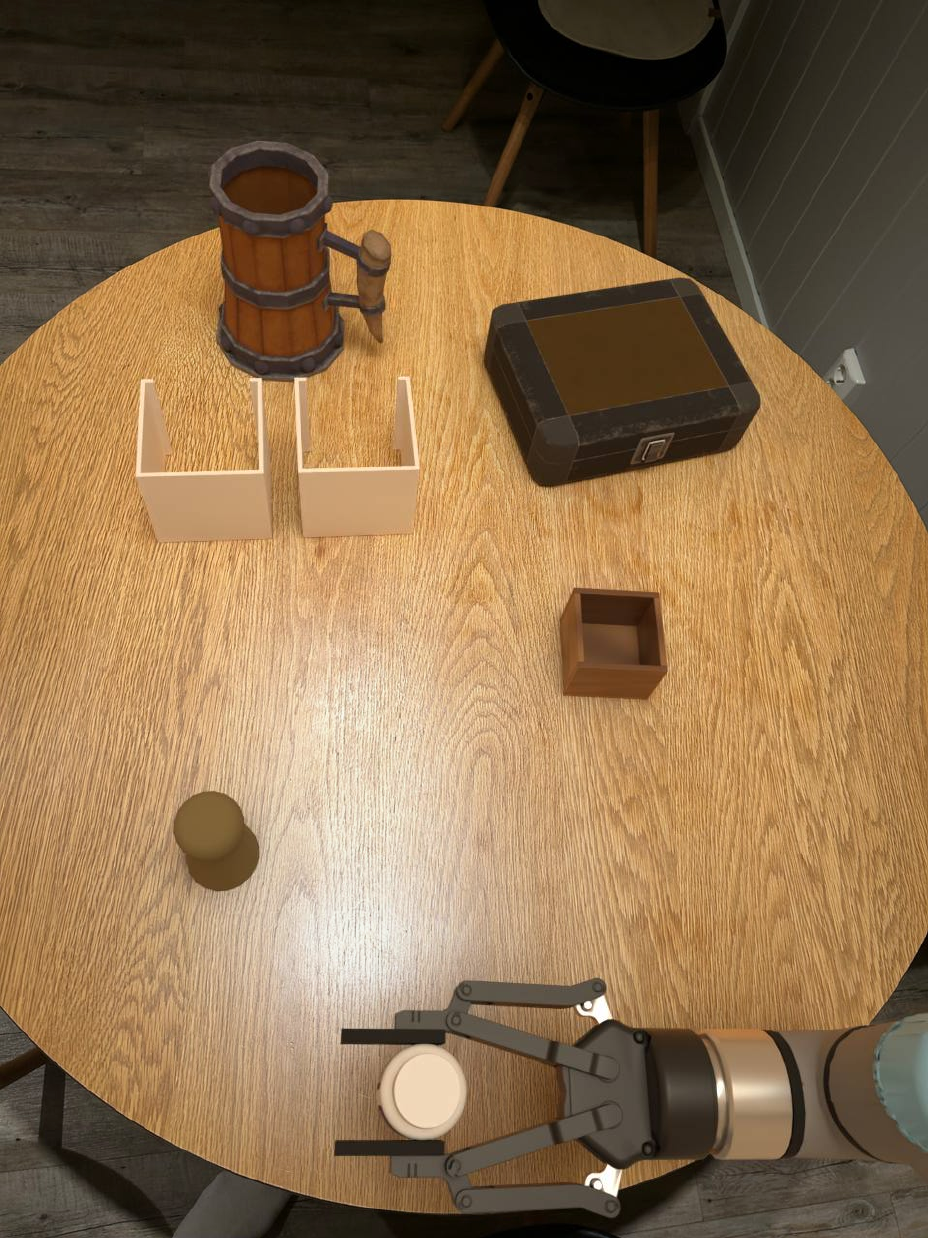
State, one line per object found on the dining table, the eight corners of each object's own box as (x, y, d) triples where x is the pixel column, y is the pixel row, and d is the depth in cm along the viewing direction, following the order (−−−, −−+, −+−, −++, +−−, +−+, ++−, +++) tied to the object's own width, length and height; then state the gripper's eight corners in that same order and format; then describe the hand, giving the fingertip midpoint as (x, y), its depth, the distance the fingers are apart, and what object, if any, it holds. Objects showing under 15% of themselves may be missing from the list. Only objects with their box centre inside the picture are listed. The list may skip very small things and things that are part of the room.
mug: (402, 315, 109) (413, 162, 91) (368, 408, 102) (373, 263, 84) (241, 273, 109) (221, 113, 91) (196, 363, 102) (166, 209, 85)
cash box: (537, 496, 99) (551, 451, 92) (478, 353, 108) (487, 302, 101) (744, 453, 105) (771, 408, 98) (673, 321, 113) (694, 271, 107)
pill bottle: (461, 1130, 63) (480, 1133, 54) (381, 1145, 62) (387, 1151, 53) (448, 1043, 65) (465, 1033, 57) (371, 1056, 64) (376, 1048, 56)
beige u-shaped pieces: (157, 542, 92) (135, 476, 82) (161, 451, 97) (140, 379, 87) (412, 533, 95) (419, 469, 86) (403, 446, 100) (409, 376, 91)
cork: (172, 874, 78) (148, 841, 68) (208, 808, 80) (189, 767, 71) (238, 903, 77) (223, 874, 67) (272, 836, 80) (262, 799, 70)
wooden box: (647, 699, 90) (668, 672, 84) (563, 695, 89) (578, 667, 83) (640, 623, 94) (659, 592, 88) (559, 618, 93) (573, 587, 87)
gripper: (698, 1257, 59) (328, 1262, 57) (669, 950, 68) (346, 943, 65) (743, 1275, 53) (326, 1282, 50) (705, 933, 61) (347, 925, 59)
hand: (338, 1091), depth 58 cm, fingers closed on pill bottle, 5 cm apart
